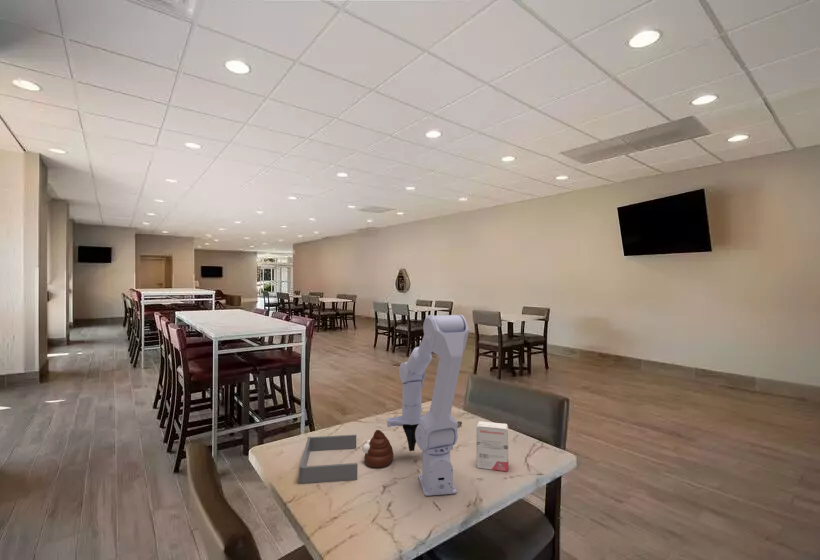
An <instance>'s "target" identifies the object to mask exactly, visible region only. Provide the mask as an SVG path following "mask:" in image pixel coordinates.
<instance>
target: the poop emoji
mask: <svg viewBox="0 0 820 560" xmlns="http://www.w3.org/2000/svg"><path fill="white" fill-rule="evenodd" d="M390 442H391V441H390V439H388V437H387V436H386V434H385V433H384V432H382V431H381V430H380V429H376V430H375V432H373V436H372V438H370V439H367V440H366V441H365V443H364V444H363V445H362V452H363V453H364V462H365V464H366V465H367V466H368V467H369V468H373V469H382V468H386V467H387V466H389V465H390V463H392V461H393V459H394V455H395V454H394V450H393V447H392V444H391V443H390Z"/></svg>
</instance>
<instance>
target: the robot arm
mask: <svg viewBox="0 0 820 560" xmlns="http://www.w3.org/2000/svg"><path fill="white" fill-rule="evenodd" d="M423 321H424V322H423V337H422V340H421V342H420V345H419V346H416V347H414V349H412V352H411V354H410V356H409V358H408V359H407V361H404V362H401V363H400V364H399V370H398V374H399V380H400V382H401V385H402V387H401V388H402V390H401V393H402V395H401V404H402V405H401V409H402V410H401V416H395V417H387V418H386V427H387V428H391V427H396V426H397V427H402V429H403V431H404V434H405V435H406V437H405V438H406V440H407V445H408V450H409V452H415V448H416V447H415V446H416V445H417V447H418V448H419V449H420V450H421V452H422V453H421V454H422V455H421V456H422V457H421V462H422V463H421V464H422V465H421V466H422V467H421V471H422V472H421V474H419V475H418V476H417V477H418V479H419V480H418V481H419V483H420V486H421V488H422V492H423V494H424V496H441V495H442V496H443V495H452V494H455V495H456V494H457V489H456V487H455V485H454V468H453V467H454V466H453V465H452V462H451V451H452V450H453V449H454V446H455V445H456V443H457V442H458V436H459V435H458V428H457V427H458V423H457V421H456V420H457V419H456V418H455V417H454V415H452V408H453V403H454V400H455V395H456V389H457V385H458V380H459V376H460V369H461V367H462V366H461V365H462V361H463V354H464V353H463V352H465V350H466V347H467V341H468V337H469V333H470V328H469V325H468V322H467V320H466V317H465V316H464V315H462V314H460V313H459V314H449V315H447V314H445V315H443V314H442V315H432V314H429V315H427V316H426V317H425V318H424V320H423ZM432 353H433V354H436V355H438V357H439V361H438V365H437V371H436V375H435V381H434V387H433V391H432V398H431V402H430V407H429V411H427V412H426V413H425V414H422V393H423V391H422V388H424V382H425V379H426V370H427V368H428V366H429V365H430V363H431V361H432V359H433V355H432Z"/></svg>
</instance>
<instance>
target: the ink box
mask: <svg viewBox="0 0 820 560" xmlns="http://www.w3.org/2000/svg"><path fill="white" fill-rule="evenodd" d="M476 468H477V469H483V470H493V471H499V472H500V471H501V472H509V426H508V423H499V422H491V421H482V420H478V422H477V424H476Z"/></svg>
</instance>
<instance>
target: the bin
mask: <svg viewBox="0 0 820 560" xmlns="http://www.w3.org/2000/svg"><path fill="white" fill-rule="evenodd" d="M352 449H357V434H343V435H342V434H341V435H340V434H339V435H324V436H323V435H322V436H307V439H306V443H305V446H304V450H303V454H302V458H301V461H300V464H299V467H298V469H299V470H298V475H299V476H298V484H299V485H301V484H303V485H304V484H316V483H326V482H328V483H329V482H331V483H332V482H341V481H356V480H358V466H359V465H358V462H352V463H351V462H350V463H333V464H321V465H319V464H318V465H308V463H309V462H308V461H309V458H310V453H311V452H317V451H318V452H320V451H333V450H334V451H337V450H352Z"/></svg>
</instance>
